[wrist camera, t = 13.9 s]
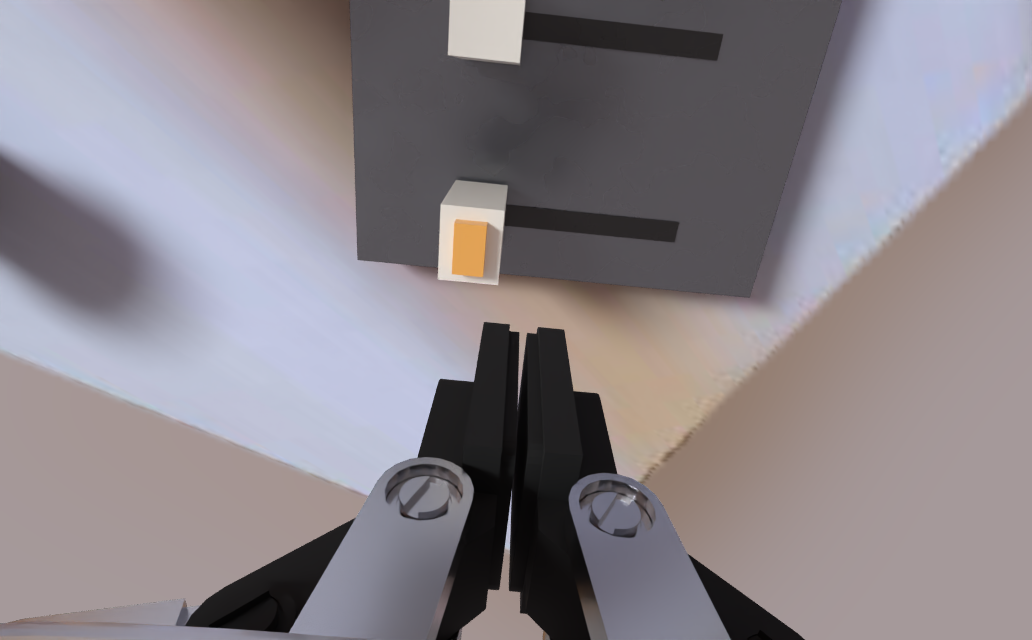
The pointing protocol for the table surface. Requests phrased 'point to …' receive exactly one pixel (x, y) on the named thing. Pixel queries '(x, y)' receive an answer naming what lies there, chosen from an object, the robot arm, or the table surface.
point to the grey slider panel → (590, 134)
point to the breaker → (486, 30)
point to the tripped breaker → (472, 232)
